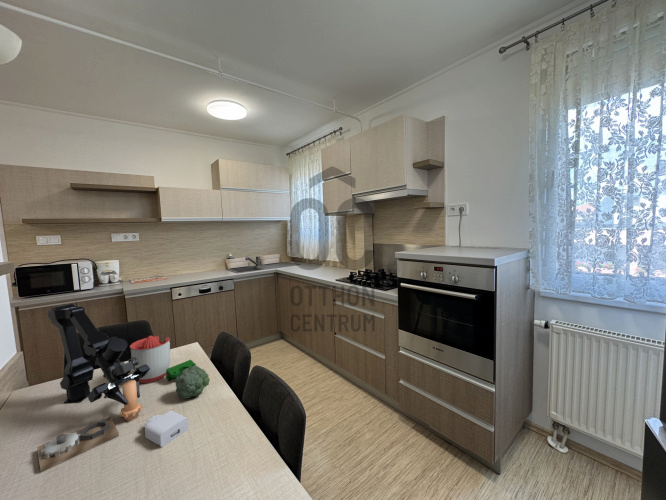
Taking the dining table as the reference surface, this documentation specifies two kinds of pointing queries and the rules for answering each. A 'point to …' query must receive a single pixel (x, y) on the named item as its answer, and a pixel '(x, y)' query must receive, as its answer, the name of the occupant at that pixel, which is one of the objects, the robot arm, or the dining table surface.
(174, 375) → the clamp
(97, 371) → the dining table surface
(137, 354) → the citrus juicer
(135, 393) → the gear spindle
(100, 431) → the gear board
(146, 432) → the charger
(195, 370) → the vegetable
